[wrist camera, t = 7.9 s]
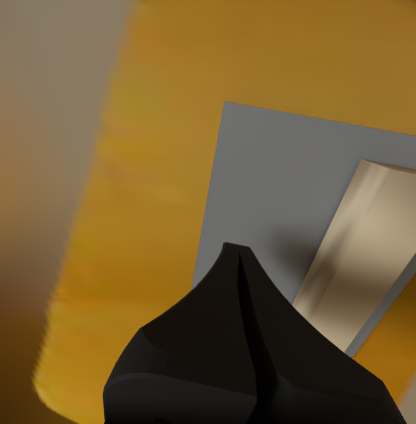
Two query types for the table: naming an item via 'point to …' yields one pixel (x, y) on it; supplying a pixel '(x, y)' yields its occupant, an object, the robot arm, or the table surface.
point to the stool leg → (361, 251)
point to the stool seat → (290, 192)
